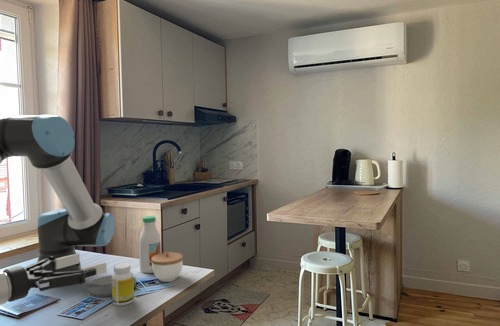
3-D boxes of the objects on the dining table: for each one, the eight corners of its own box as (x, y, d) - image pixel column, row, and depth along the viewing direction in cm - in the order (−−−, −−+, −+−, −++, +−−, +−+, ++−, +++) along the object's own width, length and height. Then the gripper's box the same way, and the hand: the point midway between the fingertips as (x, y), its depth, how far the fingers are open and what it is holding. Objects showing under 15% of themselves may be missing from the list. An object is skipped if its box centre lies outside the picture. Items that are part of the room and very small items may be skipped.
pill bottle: (138, 298, 115) (137, 262, 114) (127, 307, 109) (125, 269, 108) (120, 296, 116) (118, 261, 115) (108, 305, 110) (106, 268, 109)
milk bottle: (141, 274, 134) (139, 220, 133) (138, 268, 141) (137, 216, 140) (163, 271, 137) (161, 217, 136) (159, 265, 144) (157, 214, 143)
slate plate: (78, 289, 122) (77, 284, 122) (118, 275, 134) (118, 271, 134) (103, 301, 113) (103, 296, 113) (144, 285, 125) (144, 280, 125)
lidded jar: (176, 285, 124) (175, 257, 124) (146, 283, 126) (145, 256, 126) (187, 274, 135) (187, 248, 134) (160, 272, 137) (159, 247, 136)
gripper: (-14, 289, 94) (69, 267, 111) (29, 316, 79) (118, 285, 96) (-16, 260, 94) (68, 242, 111) (27, 282, 79) (117, 257, 96)
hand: (91, 262), depth 103 cm, fingers open, 13 cm apart
